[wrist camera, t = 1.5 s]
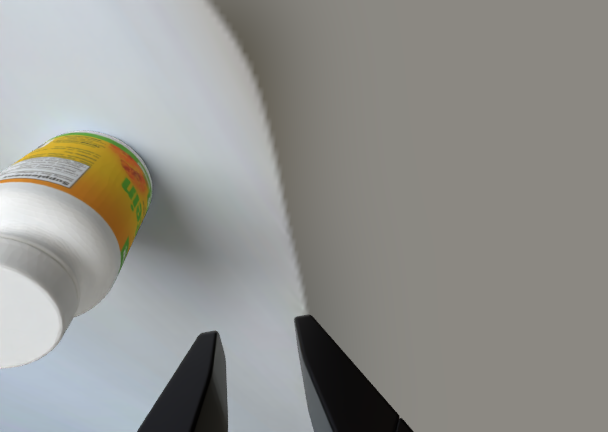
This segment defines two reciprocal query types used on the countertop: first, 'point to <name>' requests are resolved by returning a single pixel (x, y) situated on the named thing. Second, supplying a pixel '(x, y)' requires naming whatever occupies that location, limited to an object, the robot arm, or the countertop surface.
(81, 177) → the supplement bottle
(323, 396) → the robot arm
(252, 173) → the countertop surface
